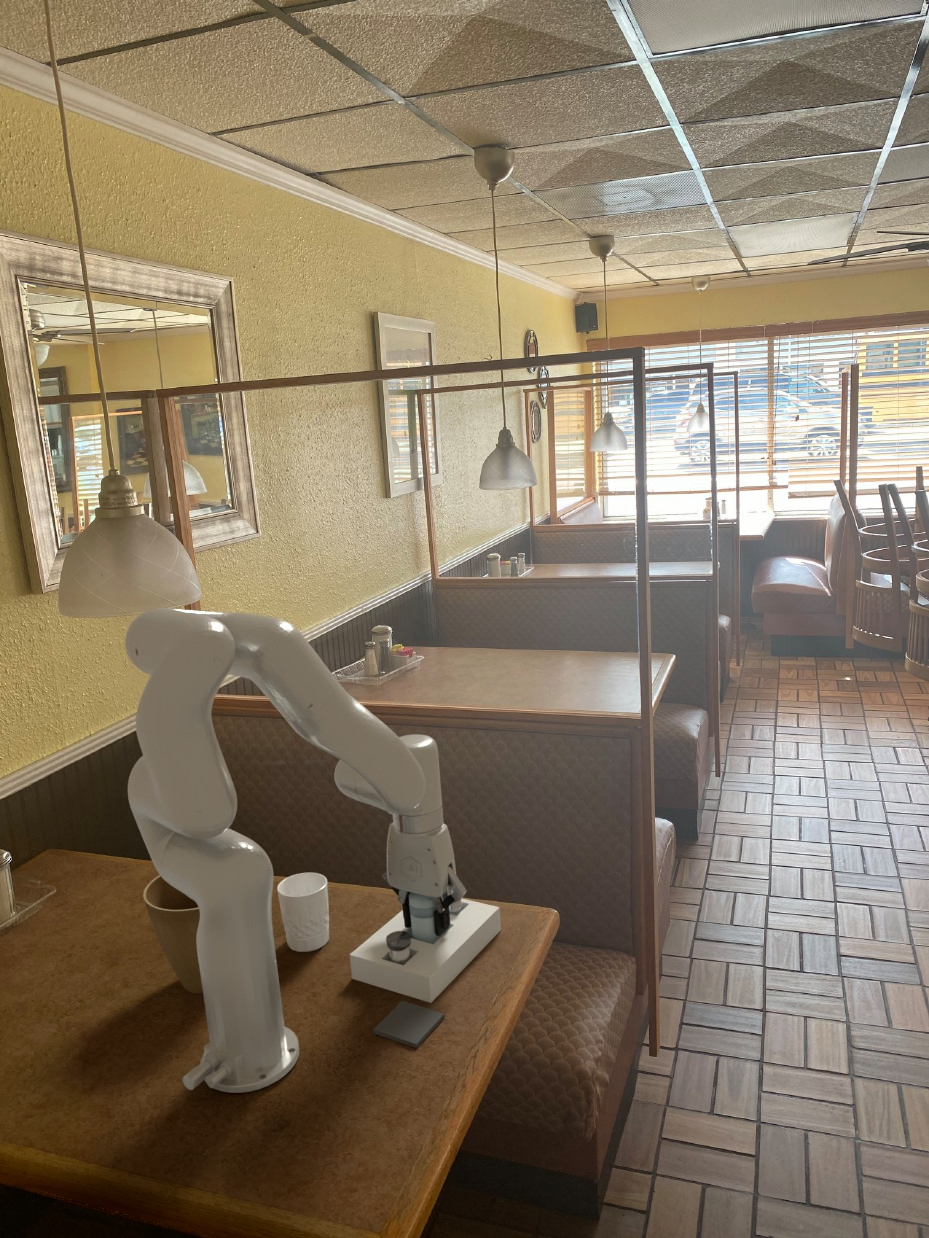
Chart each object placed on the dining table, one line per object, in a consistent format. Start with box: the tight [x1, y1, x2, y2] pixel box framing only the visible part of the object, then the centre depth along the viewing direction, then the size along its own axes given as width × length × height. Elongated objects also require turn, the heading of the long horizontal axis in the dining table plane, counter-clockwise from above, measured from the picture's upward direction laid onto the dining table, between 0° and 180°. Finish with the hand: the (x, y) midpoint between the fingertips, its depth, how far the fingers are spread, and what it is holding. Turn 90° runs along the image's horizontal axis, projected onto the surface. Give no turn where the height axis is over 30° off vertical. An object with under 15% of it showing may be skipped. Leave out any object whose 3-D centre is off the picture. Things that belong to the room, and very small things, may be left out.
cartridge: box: [409, 892, 443, 944], centre depth 141 cm, size 5×5×10 cm
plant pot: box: [142, 874, 203, 994], centre depth 138 cm, size 15×15×16 cm
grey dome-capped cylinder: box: [386, 931, 411, 965], centre depth 135 cm, size 4×4×6 cm
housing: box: [349, 897, 502, 1004], centre depth 142 cm, size 21×14×4 cm, turn 150°
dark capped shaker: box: [441, 886, 464, 916], centre depth 148 cm, size 4×4×6 cm
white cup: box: [276, 872, 330, 953], centre depth 147 cm, size 8×8×10 cm
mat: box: [372, 1000, 445, 1049], centre depth 125 cm, size 7×7×1 cm
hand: (427, 926), depth 141 cm, fingers closed on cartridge, 4 cm apart
